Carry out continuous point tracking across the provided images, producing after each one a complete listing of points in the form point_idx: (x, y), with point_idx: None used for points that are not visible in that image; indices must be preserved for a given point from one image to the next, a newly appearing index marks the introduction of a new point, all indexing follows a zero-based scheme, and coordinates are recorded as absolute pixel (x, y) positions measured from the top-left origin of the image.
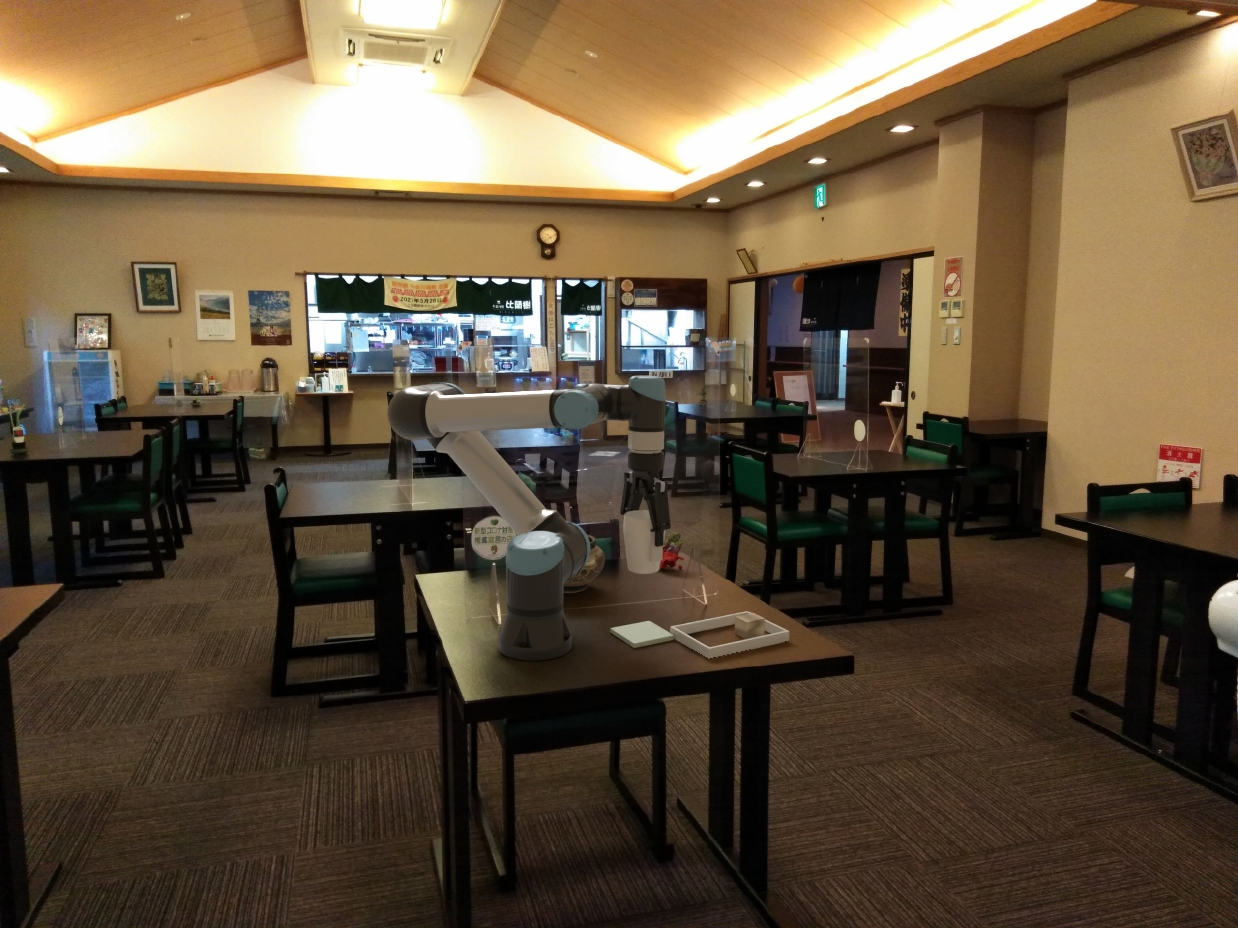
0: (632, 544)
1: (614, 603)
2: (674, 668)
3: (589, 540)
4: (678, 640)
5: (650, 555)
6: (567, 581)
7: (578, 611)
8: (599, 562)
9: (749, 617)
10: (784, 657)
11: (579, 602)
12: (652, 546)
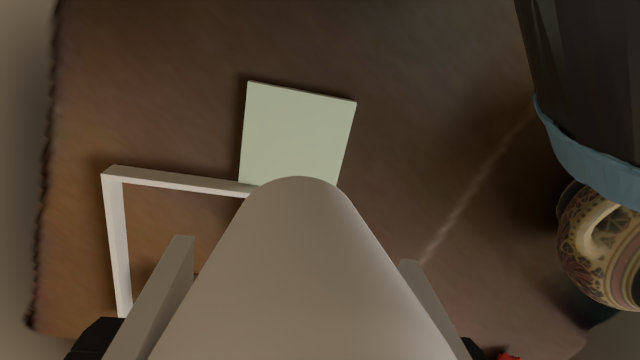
0: (269, 244)
1: (462, 211)
2: (97, 71)
3: None
4: (227, 180)
5: (175, 256)
6: None
7: (493, 127)
8: (576, 266)
9: None
10: (63, 269)
11: (524, 163)
12: (137, 303)
